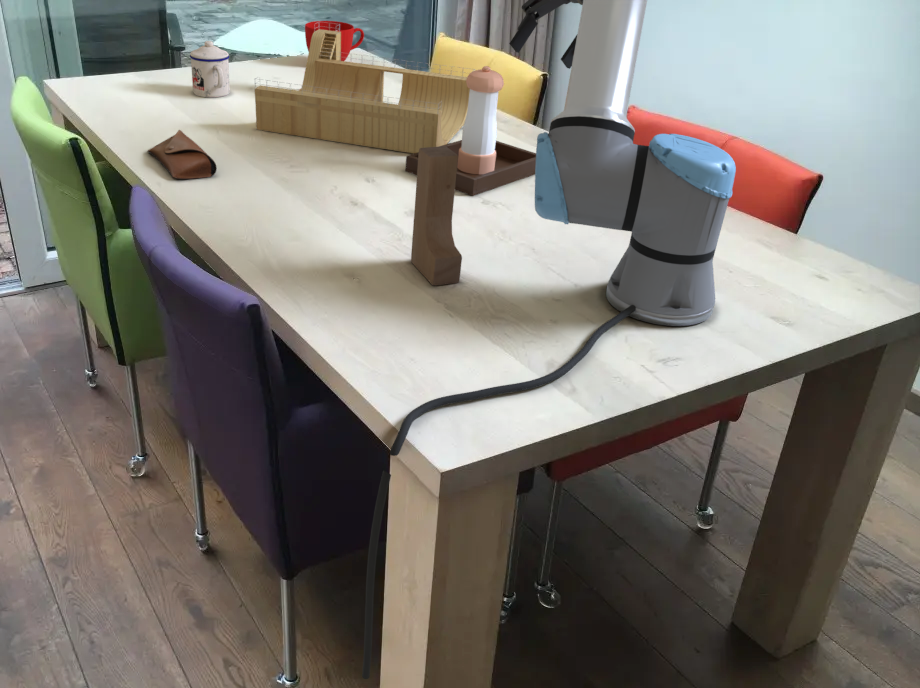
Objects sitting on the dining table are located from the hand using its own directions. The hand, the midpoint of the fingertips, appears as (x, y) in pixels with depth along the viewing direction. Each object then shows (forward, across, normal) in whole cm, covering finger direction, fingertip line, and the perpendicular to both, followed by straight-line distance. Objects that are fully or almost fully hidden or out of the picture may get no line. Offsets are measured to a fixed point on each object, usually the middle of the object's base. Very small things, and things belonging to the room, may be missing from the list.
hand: (538, 56), depth 169 cm
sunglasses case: (+54, +33, +31) cm, 71 cm away
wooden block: (+46, -30, +22) cm, 60 cm away
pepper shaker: (+23, +2, -5) cm, 23 cm away
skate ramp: (+22, +39, -7) cm, 46 cm away
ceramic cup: (+8, +87, -24) cm, 91 cm away
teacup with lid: (+36, +74, +9) cm, 83 cm away
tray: (+23, +2, -5) cm, 24 cm away
